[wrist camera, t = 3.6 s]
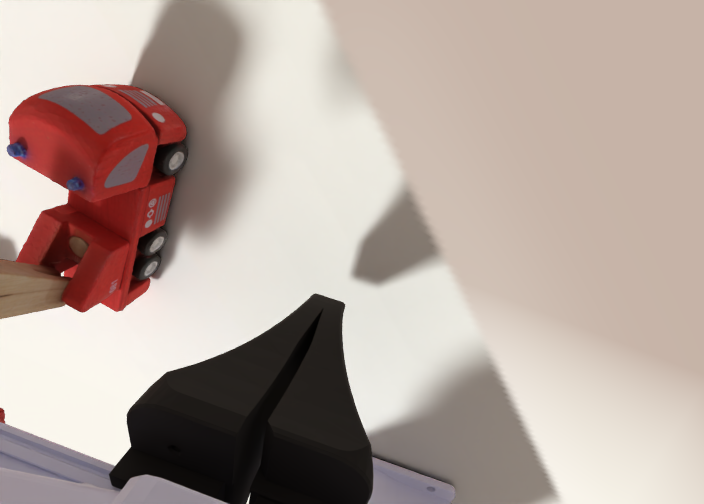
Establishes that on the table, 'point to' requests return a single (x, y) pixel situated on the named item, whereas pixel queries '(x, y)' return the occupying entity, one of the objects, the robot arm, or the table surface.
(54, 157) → the toy fire truck
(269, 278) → the table surface
